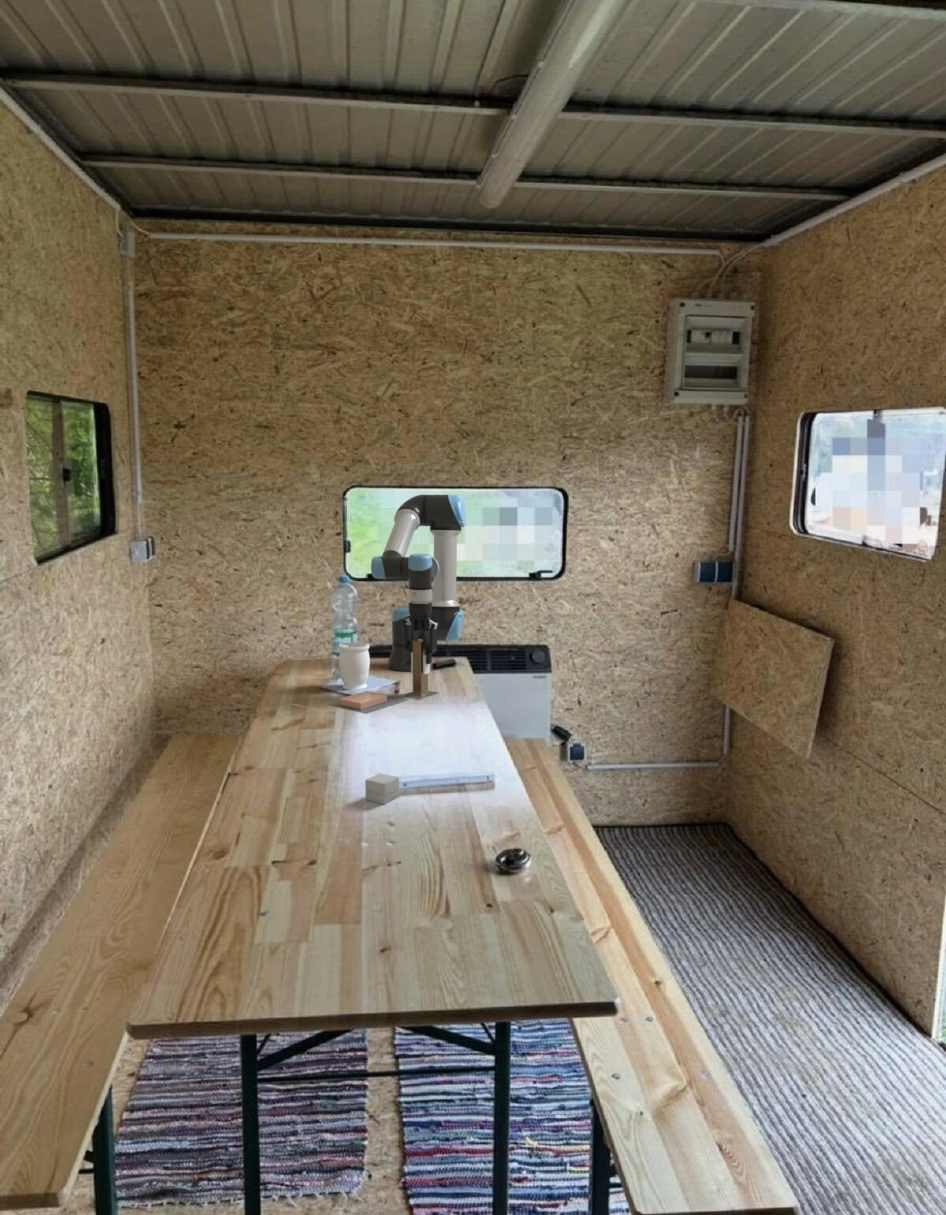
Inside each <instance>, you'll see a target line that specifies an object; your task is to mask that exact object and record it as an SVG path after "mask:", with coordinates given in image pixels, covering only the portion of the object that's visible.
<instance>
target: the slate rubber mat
mask: <svg viewBox="0 0 946 1215" xmlns="http://www.w3.org/2000/svg"><path fill="white" fill-rule="evenodd" d="M378 694H380V693H379V692H378ZM383 695H385V694H384V693H383ZM386 695H387V702H384V703H380V704H377V705H374V706H371V707H368V708H365V709H361V710H360V709H356V708H352V707H347V706H343V705H340V700H337V701H335V702H332V703H331V702H330V703H327V704H326V706H331V707H334V708H335V707H336V708H339V709H344V710H349V711H352V712H353V711H354V712H357V713H361V714H366V715H367V714H369V713H374V712H376V711H378V710H379V711H380V710H382V709H385V708H389V707H392V706H395V705H398V704H401V703H404V702H407V701H409V698H407V699H406V698H404V697H403V698H402V697H397V696H393V695H389V694H386Z"/></svg>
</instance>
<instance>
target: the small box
mask: <svg viewBox="0 0 946 1215" xmlns="http://www.w3.org/2000/svg"><path fill="white" fill-rule="evenodd" d="M364 783H365V800H366V801H369V802H375V803H376V804H377V803H378V804H382V805H387V804H389V803H390V802H393V801H394V800H396V799H399V797H400V777H399V776H394V775H389V774H385V773H382V772H381V773H377V774H374V775H373V776H371V777H369V778H367V779H365V782H364Z"/></svg>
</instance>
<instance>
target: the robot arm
mask: <svg viewBox="0 0 946 1215" xmlns="http://www.w3.org/2000/svg"><path fill="white" fill-rule="evenodd" d="M393 522H394V524H393V528H392V530H391V533H390V535H389V537H388V540H387V542H386V544H385V548H384V550H383V552H382V555H376V556H374V557H372V559H371V564H370V570H371V571H370V572H371V575H372V577H373V578H374V579H380V580H381V579H383V580H408V601H409V603H408V605H404V606H399V607H396V608H395V609H394V610H392V615H391V616H392V617H391V618H392V619H391V623H392V624H391V625H392V626H391V628H392V629H391V630H392V633H391V634H392V648H391V651H390V654H389V659H388V661H387V667H388V669H390V670H393V671H400V672H411V673H413V640H417V639H423V644H424V650H425V653H424V654H423V674H428V675H429V674H430V673H431V664H432V662H433V661H432V658H433V657H432V655H433V654H434V653H437V651H438V642H440V641H441V642H456V641H458V640H460V638H461V636H462V631H463V628H464V621H465V611H464V610H463V609H461V605H460V603H458V601H457V565H458V564H457V560H458V559H457V558H458V557H457V556H458V536H459V535H460V534H461V533H462V528H463V527H466V524H467V514H466V509H465V503H464V500H463V497H462V496H460V495H458V494H457V495H456V494H417V495H414V496H412V497H410V498H408V500H406V501H404V502H403V503H401V505H400V506H399V507H398V509H397V510H396V512H395V515H394V518H393ZM420 527H429V532H430V533H431V535H433V557H432V555H431V554H429V553H413V554H412V553H411V554H410V555H409V556H406V555H407V552H408V549H409V546H410V544H411V542H412V539H413V536H414V533H415V531H416V530H418V529H419V528H420ZM432 582H433V583H432Z"/></svg>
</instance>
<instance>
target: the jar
mask: <svg viewBox="0 0 946 1215" xmlns="http://www.w3.org/2000/svg"><path fill="white" fill-rule="evenodd" d="M338 648H339V650H340V652H339V655H338V666H339V667H338V668H339V672H340V677H341V680H342V682H343V685H342V688H343V689H345V690H354V691H356V690H365V689H366V688H367V687H368V684H367V681H368V678H369V671H370V665H371V661H370V652H369V649H370V644H369V643H367V642H361V641H360V642H357V641H355V642H354V641H353V642H343V643H340V644H339V645H338Z"/></svg>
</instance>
